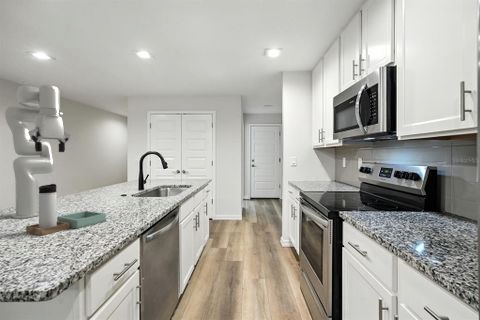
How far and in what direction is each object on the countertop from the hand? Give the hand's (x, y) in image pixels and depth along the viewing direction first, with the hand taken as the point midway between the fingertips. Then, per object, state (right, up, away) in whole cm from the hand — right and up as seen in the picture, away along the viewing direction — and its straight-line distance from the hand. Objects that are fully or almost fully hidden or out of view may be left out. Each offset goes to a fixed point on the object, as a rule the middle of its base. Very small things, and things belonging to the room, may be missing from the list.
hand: (50, 151), depth 117 cm
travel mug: (+1, -35, -3) cm, 35 cm away
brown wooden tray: (+1, -34, -3) cm, 35 cm away
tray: (+9, -34, +9) cm, 36 cm away
